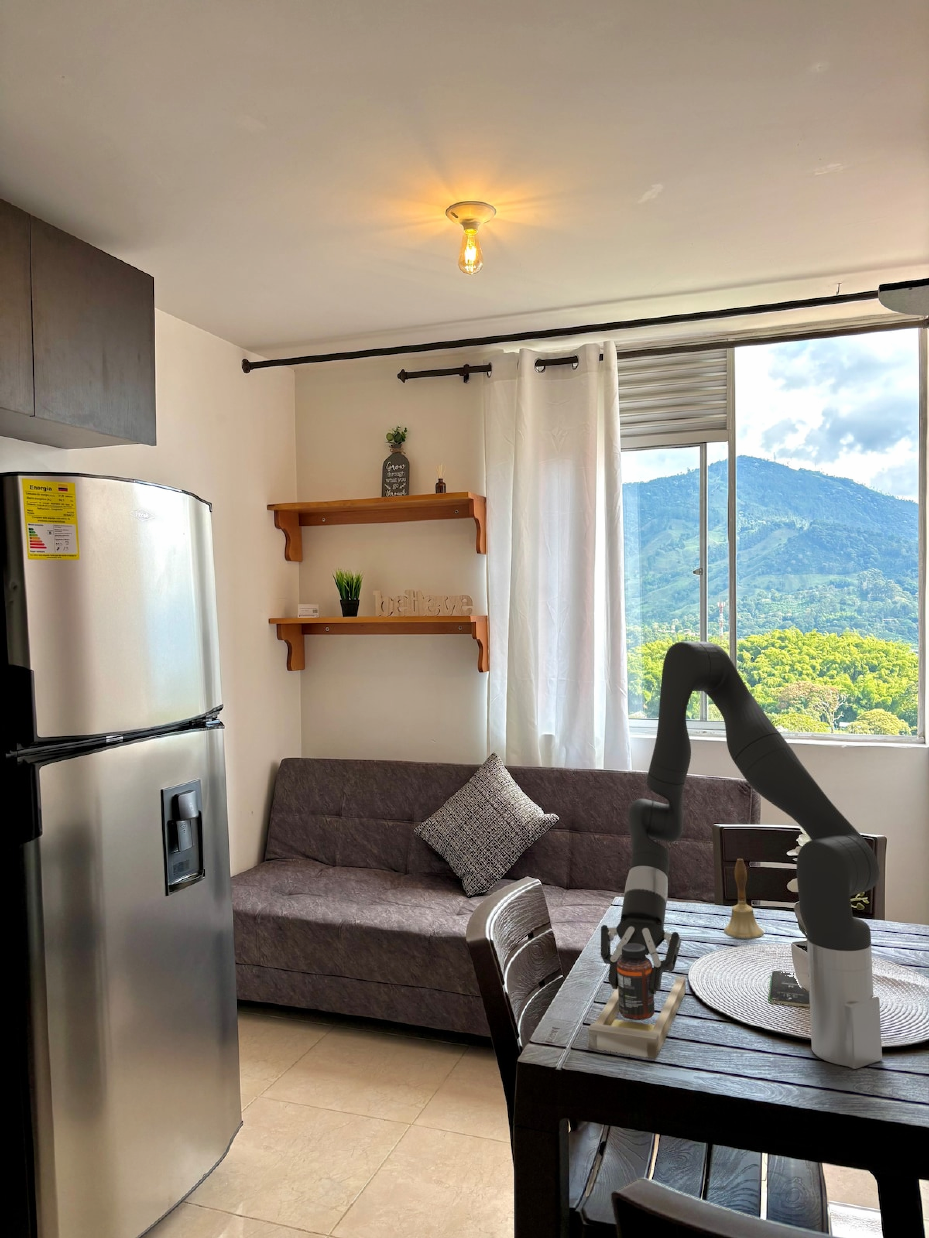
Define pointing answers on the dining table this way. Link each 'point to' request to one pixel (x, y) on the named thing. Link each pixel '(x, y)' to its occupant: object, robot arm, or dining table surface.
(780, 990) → the small black book
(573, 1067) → the dining table surface
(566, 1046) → the dining table surface
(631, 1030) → the open wooden tray frame
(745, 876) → the hand bell
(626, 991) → the supplement bottle
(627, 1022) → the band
